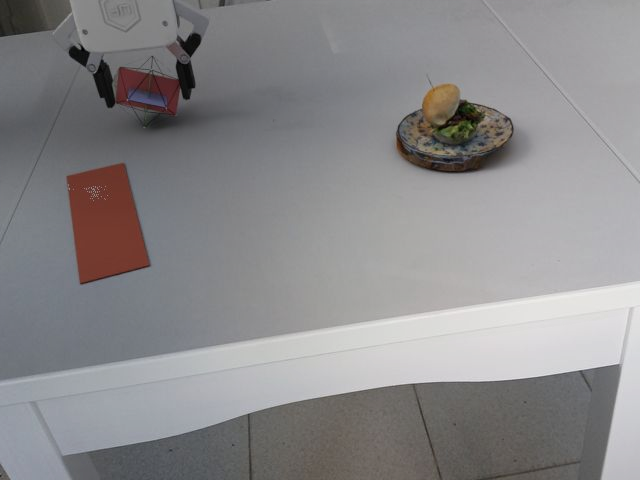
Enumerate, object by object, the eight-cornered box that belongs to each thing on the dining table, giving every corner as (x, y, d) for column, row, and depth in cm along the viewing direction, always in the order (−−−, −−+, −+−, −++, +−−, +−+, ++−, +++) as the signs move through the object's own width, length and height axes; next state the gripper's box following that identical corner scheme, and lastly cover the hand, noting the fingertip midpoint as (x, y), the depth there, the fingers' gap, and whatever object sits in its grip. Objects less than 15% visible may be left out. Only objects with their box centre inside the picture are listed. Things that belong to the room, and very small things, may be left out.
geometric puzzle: (196, 81, 85) (141, 31, 81) (197, 106, 80) (138, 54, 76) (157, 123, 88) (101, 77, 83) (155, 149, 83) (95, 102, 78)
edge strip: (80, 284, 62) (79, 283, 62) (66, 176, 76) (66, 175, 76) (149, 265, 63) (149, 264, 63) (123, 163, 77) (123, 162, 77)
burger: (499, 179, 69) (505, 103, 64) (381, 166, 72) (377, 93, 67) (522, 121, 77) (529, 50, 72) (415, 112, 80) (414, 44, 75)
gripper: (4, -55, 68) (67, 122, 80) (189, -75, 68) (225, 105, 80) (24, -76, 73) (80, 93, 85) (195, -94, 73) (228, 77, 85)
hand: (150, 98), depth 82 cm, fingers closed on geometric puzzle, 8 cm apart
